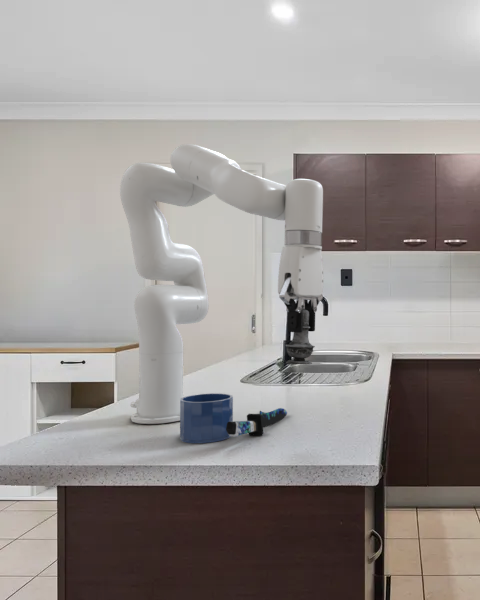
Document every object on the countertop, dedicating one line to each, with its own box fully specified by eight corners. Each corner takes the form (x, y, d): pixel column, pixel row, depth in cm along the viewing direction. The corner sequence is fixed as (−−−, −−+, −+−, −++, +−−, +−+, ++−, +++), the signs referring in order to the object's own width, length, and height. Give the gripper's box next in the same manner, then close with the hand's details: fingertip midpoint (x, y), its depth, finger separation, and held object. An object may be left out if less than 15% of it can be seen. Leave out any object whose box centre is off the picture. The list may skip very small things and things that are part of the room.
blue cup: (169, 440, 103) (169, 399, 103) (206, 428, 112) (206, 392, 112) (207, 445, 99) (207, 404, 99) (242, 433, 108) (242, 395, 108)
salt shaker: (318, 363, 107) (322, 305, 107) (304, 365, 101) (308, 304, 102) (293, 361, 109) (297, 304, 109) (278, 363, 103) (282, 303, 103)
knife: (231, 445, 94) (233, 420, 95) (216, 444, 95) (218, 419, 95) (296, 425, 124) (297, 406, 125) (285, 424, 125) (286, 405, 125)
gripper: (310, 246, 114) (309, 328, 114) (262, 237, 99) (260, 333, 99) (340, 245, 111) (338, 330, 111) (294, 236, 96) (292, 334, 96)
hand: (301, 330), depth 105 cm, fingers closed on salt shaker, 3 cm apart
